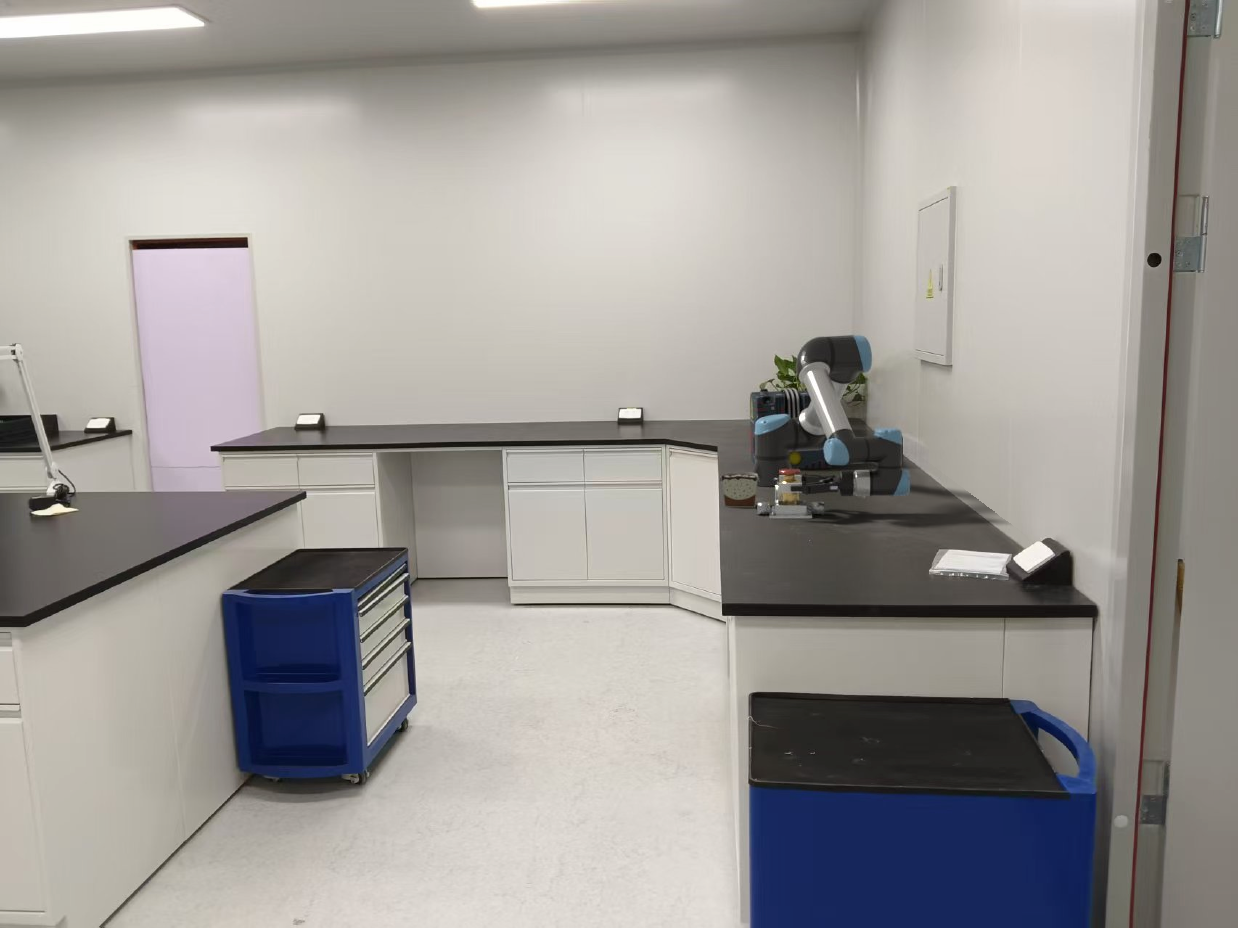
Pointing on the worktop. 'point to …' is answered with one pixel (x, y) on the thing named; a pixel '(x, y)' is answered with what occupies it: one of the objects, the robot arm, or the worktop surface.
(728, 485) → the food container
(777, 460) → the robot arm
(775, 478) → the clear glass cylinder
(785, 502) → the brass valve
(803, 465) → the power unit
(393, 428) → the worktop surface
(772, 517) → the flange socket
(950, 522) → the worktop surface
